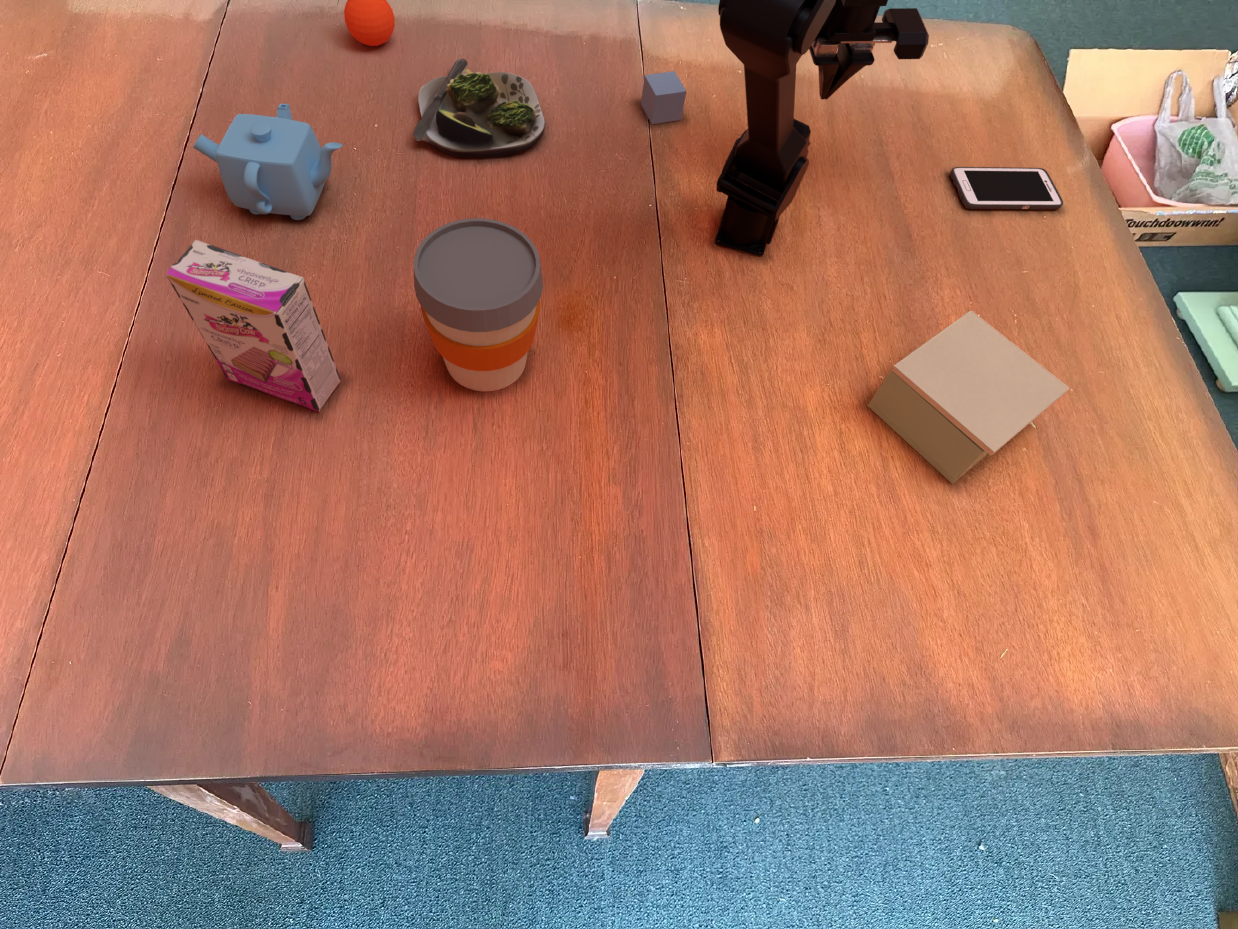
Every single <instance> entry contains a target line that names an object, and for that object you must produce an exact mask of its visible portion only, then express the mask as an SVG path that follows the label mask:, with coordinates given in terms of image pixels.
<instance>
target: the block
mask: <svg viewBox="0 0 1238 929" xmlns="http://www.w3.org/2000/svg"><path fill="white" fill-rule="evenodd" d="M641 91H642V92H641V100H640V106H641V108H642V109H643V111H644V113H645V116H646V117H647V119H648V120H649V122H650V124H651V125H657V124H664V123H671V122H676V121H682V118H683V114H684V113H683V112H684V107H685V102H686V96H687V89H686V87H685V86H684V84H683V82H682V81H681V80H680V78H679V76H678V74H677V73H676V71H675V70H672V71H665V72H658V73H657V72H656V73H650V74H644V77H643V85H642V90H641Z"/></svg>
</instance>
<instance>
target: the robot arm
mask: <svg viewBox="0 0 1238 929" xmlns="http://www.w3.org/2000/svg"><path fill="white" fill-rule="evenodd" d="M888 1H889V0H719V1H718V8H717V10H718V11H717V12H718V16H719V28H720V32H721V35H722V39H723V41H724V44H725V47H726V48H728V49H729V50H730V52H731V53H732V54H733V55H734V56H735V57H736V58H737V59H738V60H739V61H740V62H741V64H742V66H743V71H744V72H743V74H744V88H745V90H744V91H745V104H746V119H747V129H746V130H744V131H743V132H742V134H741V135H740V137H738V138H736V139H735V141H734V144H733V145H732V148H731V150H730V152H729V154H728V156H727V158H726V160H725V162H724V165H723V167H722V169H721V173H720V174H719V177H718V178H717V180H716V192H718V193H721V194H724V195H726V196H727V198H726V202H725V205H724V208H723V211H722V214H721V217H720V220H719V225H718V228H717V231H716V235H715V238H714V244H715V245H717V246H720V247H723V248H728V249H731V250H735V251H739V252H742V253H746V254H750V255H753V256H757V257H763V256H765V251H766V249H767V248H766V247H767V245H771V244H772V240H773V238H774V235H775V232H776V229H777V227H778V223H779V220H780V217H781V216H782V214H783V213H784V212H785V211H786V210H787V208H788V207H789V206H790V204H792V202H793V201H794V198H795V196H796V194H797V191H798V190H799V187H800V185H801V183H802V180H803V178H804V177H805V174H806V172H807V169H808V167H809V165H810V160H809V159H808V155H809V147H810V146H811V142H810V139H811V138H810V137H811V133H812V130H811V128H810V125H809V124H806V123H804V122H802V121H800V120H799V119H796V118H795V101H796V82H797V65H798V63H799V61H800V59H801V58H802V57H803V55H805V54H806V53H807V52H808V51H809V53H810V57H811V60H812V63H813V65H814V66H817V68H818V89H819V90H818V91H819V92H818V94H819V97H820V100H828V99H829V98H831V97H832V95H834V94H835V93H836V92H837V91H838V89H840V88H841V87H842V86H843V85H844V84H846V82H847V81H849V80H850V79H851V78H852V77H853V76H855V75H856V74H857V73H859V72H860V71H861V70H862V69H864V68H865V67H867V66H873V64H874V63H875V56H874V54H873V50H874V47H875V45H876V44H892V43H893V42H895V45H894V48H893V53H894V55H895V56H896V58H897V60H920V59H921V58H922V57H923V56H924V54H925V52H926V49H927V47H928V45H929V39H930V38H929V37H930V34H929V32H928V30H927V27H926V25H925V23H924V20H923V18H922V15H921V14H920V12H919V10H918V8H917V7H906V8H905V7H903V8H902V7H901V8H900V7H899V8H898V7H897V8H896V7H894V8H887V9H885V10H884V12H883V13H882V14H883V15H882V17H881V21H880V22H879V21H878V22H876V20H877V16H878V14H879V11H880V8H881V7H887V5H888Z"/></svg>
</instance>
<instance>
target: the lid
mask: <svg viewBox="0 0 1238 929" xmlns="http://www.w3.org/2000/svg"><path fill="white" fill-rule="evenodd" d="M891 370H892V371H893V372H894V373H895V374H896V375H898V376H899V377H900V378H901V379H902V380H903V381H904V382H906V383H907V384H908V385H909V386H910V387H911V388H913V389H914V390H915V391H916V392H917V393H918V394H919V395H921V396H922V397H923V398H924V399H925V400H926V401H928V402H929V403H930V404H931V405H932V406H933V407H935V408H936V409H937V410H938V411H939V412H940V413H941V414H943V415H944V416H945V417H946V418H947V419H948V420H950V421H951V422H952V423H953V424H954V425H955V426H956V427H958V428H959V429H960V430H961V431H962V432H963V433H965V434H966V435H967V436H968V437H969V438H970V439H972V440H973V441H974V442H975V443H976V444H977V445H978V446H980V447H981V448H982V449H983V450H984V451H985V452H987V453H988V454H987V455H988V456H990V457H992V456H993V455H994V454H995V453H997V452H998V451H999V450H1000V449H1001V448H1003V447H1004V446H1005V445H1006V444H1007V443H1008V442H1009V441H1011V440H1012V439H1013V438H1014V437H1016V436H1017V435H1018V434H1019V433H1021V431H1022V430H1024V429H1025V428H1026V427H1027V426H1028V425H1029V424H1031V423H1032V422H1033V421H1034V420H1036V418H1038V417H1039V416H1040V415H1041V414H1043V412H1045V411H1046V410H1047V409H1048V408H1050V407H1052V405H1053V404H1054V403H1055V402H1057V401H1058V400H1059V399H1060V398H1061V397H1062V396H1064V395H1065V394H1066V393H1067V392H1068V391H1069V390H1070V389H1071V388H1070V387H1069V386H1068V385H1067V384H1066V383H1065V382H1063V381H1062V380H1060V379H1059V378H1058V377H1057V376H1055V375H1054V374H1053V373H1052V372H1050V371H1049V370H1048V369H1046V368H1045V367H1044V366H1043V365H1041V364H1040V363H1039V362H1037V360H1035V359H1034V358H1033V357H1031V356H1030V354H1027V353H1026V352H1025V351H1024V350H1022V349H1021V348H1020V347H1018V345H1016V344H1014V343H1013V341H1011V340H1010V339H1009V338H1007V337H1006V336H1005V335H1004V334H1002V333H1001V332H999V330H997V329H996V328H995V327H993V326H992V325H991V324H989V323H988V322H987V321H986V320H985V319H983V318H982V317H981V316H979V315H978V314H977V313H976V312H975V311H973V310H971V309H970V310H969V311H967V312H966V313H964V314H963V315H962V316H960V317H959V318H958V319H956V320H954V321H953V322H952V323H950V324H949V325H948V326H946V327H945V328H944V329H942V330H941V331H940V332H938V333H937V334H935V335H934V336H933V337H931V338H929V339H928V340H927V341H926V342H924V343H923V344H922V345H920V346H918V347H917V348H915V350H913V351H912V352H910V353H909V354H908V355H906V356H905V357H904V358H902V359H901V360H899V361H898V362H896V363H895V364H894V365H892V367H891V369H890V371H891Z"/></svg>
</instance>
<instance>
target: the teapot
mask: <svg viewBox="0 0 1238 929" xmlns="http://www.w3.org/2000/svg"><path fill="white" fill-rule="evenodd" d="M321 146H322V145H321V144H320V142H319V140H318V137H317V135H316V133H315V131H314V129H313V127H312V126H311V124H309V123H307V122H304V121H299V120H294V119H293V115H292V111H291V106H290V104H289V103H280V104H279V105H278V106H277V110H276V116H271V115H270V116H269V115H261V114H250V113H237V114H236V115H235V116H234V117H233V119H232V121H231V123H230V125H229V127H228V128H227V130H226V132H225V134H224V136H223V137H222V139H221V141H220V143H219V144H218V143H217V142H215V141H213V140H212V139H210V138H209V137H207V136H206V135H204V134H202V133H200V134H199V135H198V137H197V138H196V140H195V142H194V143H193V146H192V148H193V149H195V150H196V151H198V152H199V153H201V154H202V155H204V156H205V157H207V158H209V159H210V160H212V161H213V162H215V163H216V164H217V165H218V170H219V175H220V178H221V182H222V184H223V187H224V190H225V192H226V195H227V197H228V198H229V200H230V201H231V203H232V204H233V205H234V206H235V207H238V208H242V209H246V210H249V212H250V213H251V214H253V215H268V214H274V215H282V216H283V215H284V216H290V218H291V219H292V220H295V221H301V220H304V219H305V218H306V217H308V216H309V217H310V216H311V215H312V213H313V212H314V210H315V207H316V206H317V204H318V202H319V199H320V197H321V194H322V192H323V189H324V186H325V184H326V182H327V181H328V180H329V178H330V176H331V173H332V167H333V166H332V163H333V162H332V156H333V153H334V152H335V151H337V150H339V149H341V148H343V146H344V145H343V144H342V143H340V142H327V143H325V144H323V146H322V147H321Z"/></svg>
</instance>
